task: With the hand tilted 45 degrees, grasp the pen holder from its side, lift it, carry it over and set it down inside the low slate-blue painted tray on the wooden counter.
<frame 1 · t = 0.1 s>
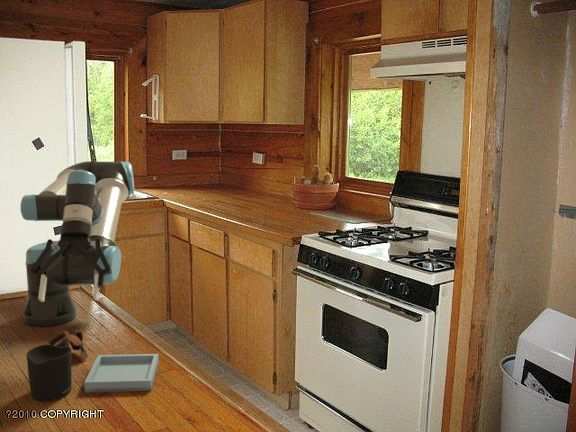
hand: (68, 300, 154), 15 cm above the worktop, tool tilted 35°, fingers open, 13 cm apart
brown hollow rounded piece: (69, 359, 156), on the worktop
tray: (123, 376, 146), on the worktop
pen holder: (51, 393, 138), on the worktop
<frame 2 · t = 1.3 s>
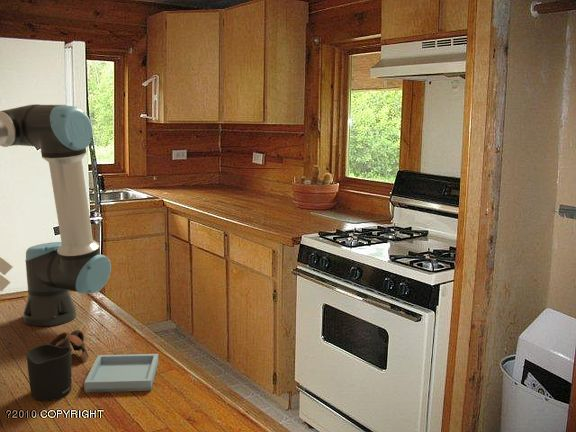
hand: (7, 278, 135), 26 cm above the worktop, tool tilted 45°, fingers open, 13 cm apart
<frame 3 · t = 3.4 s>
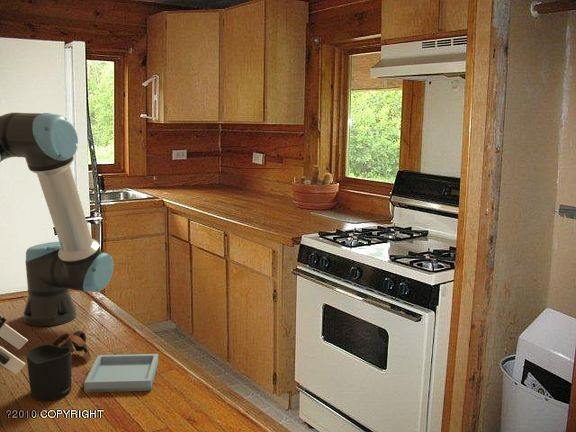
hand: (22, 356, 133), 10 cm above the worktop, tool tilted 45°, fingers open, 13 cm apart
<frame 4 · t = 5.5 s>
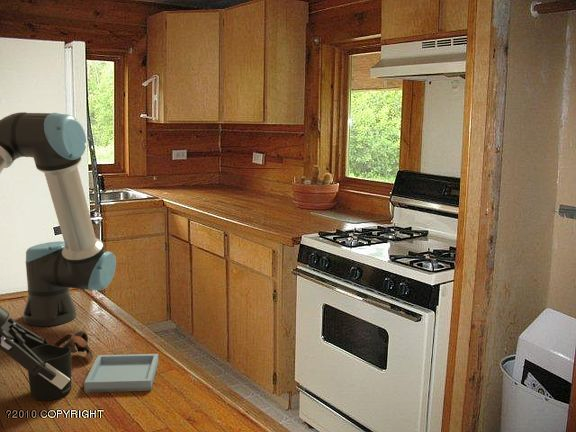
hand: (65, 374, 138), 4 cm above the worktop, tool tilted 45°, fingers closed on pen holder, 9 cm apart
pen holder: (51, 393, 138), on the worktop, touching gripper
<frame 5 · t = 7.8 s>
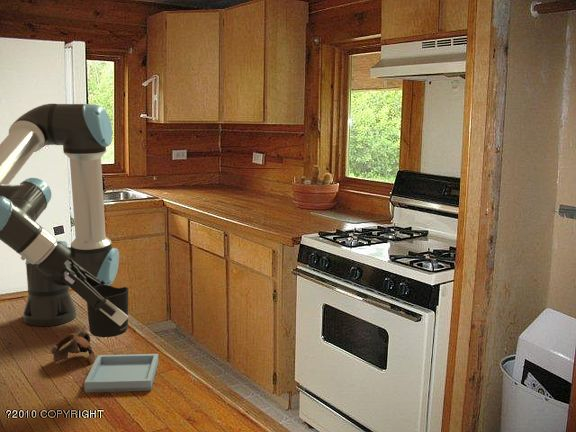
hand: (122, 313, 142), 17 cm above the worktop, tool tilted 45°, fingers closed on pen holder, 9 cm apart
pen holder: (108, 331, 141), point 12 cm above the worktop, touching gripper
when the fingers open (6 cm above the worktop, at t = 10.6 s): pen holder drops 1 cm, resting on tray.
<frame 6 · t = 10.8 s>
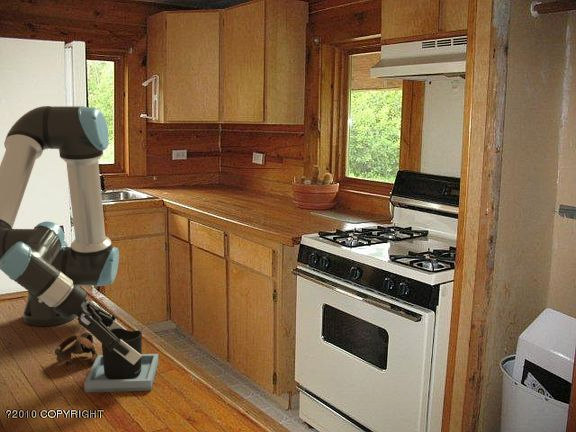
hand: (134, 349, 146), 7 cm above the worktop, tool tilted 45°, fingers open, 11 cm apart
brown hollow rounded piece: (80, 361, 154), on the worktop
pen holder: (123, 374, 146), point 1 cm above the worktop, touching tray
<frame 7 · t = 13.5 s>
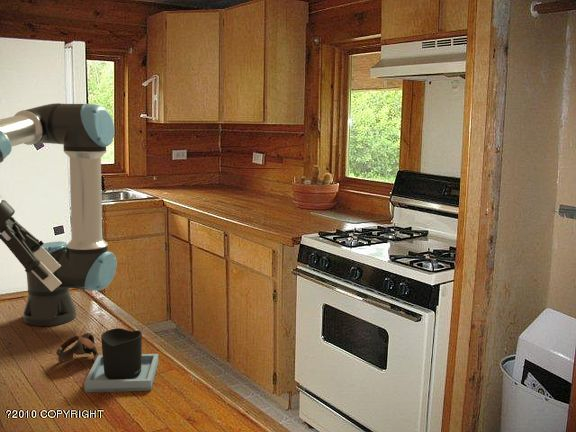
hand: (56, 278, 139), 25 cm above the worktop, tool tilted 40°, fingers open, 13 cm apart
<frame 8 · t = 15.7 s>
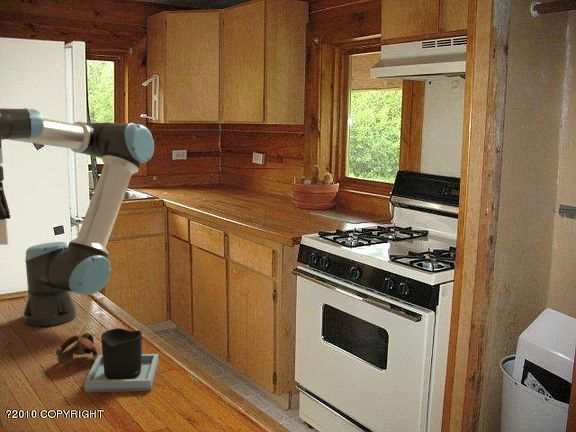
nothing on the worktop moved.
at the end: pen holder inside the target area on the tray (0.2 cm from its centre), point 0.6 cm above the tray's base; pen holder tilted 0°; the gripper is holding nothing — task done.
